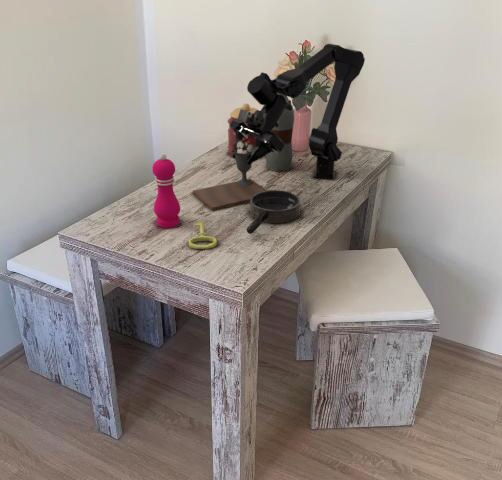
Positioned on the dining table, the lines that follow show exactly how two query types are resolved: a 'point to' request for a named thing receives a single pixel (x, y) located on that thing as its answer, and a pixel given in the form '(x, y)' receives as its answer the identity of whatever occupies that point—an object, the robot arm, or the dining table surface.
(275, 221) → the skillet
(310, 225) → the dining table surface
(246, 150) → the sundae
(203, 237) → the key
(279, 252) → the dining table surface
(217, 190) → the walnut board
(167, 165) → the pepper mill
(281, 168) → the bottle
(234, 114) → the kitchen canister
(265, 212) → the skillet handle
